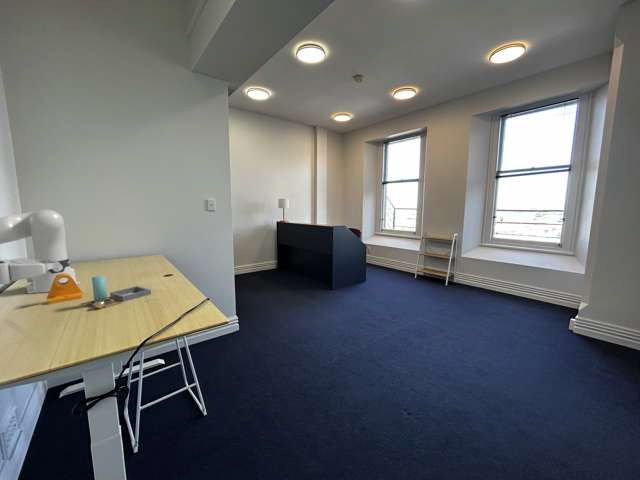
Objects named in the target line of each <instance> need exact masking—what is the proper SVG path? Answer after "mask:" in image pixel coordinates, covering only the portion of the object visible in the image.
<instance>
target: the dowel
mask: <svg viewBox="0 0 640 480" xmlns="http://www.w3.org/2000/svg"><path fill="white" fill-rule="evenodd" d="M91 282H92V291H93V293H92V295H93V300H94V302H97V301H104V302H107V298H108V293H107V285H106V284H107V283H106V276H105V275H99V276H98V275H97V276H93V277H91Z"/></svg>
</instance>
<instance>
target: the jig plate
mask: <svg viewBox="0 0 640 480" xmlns="http://www.w3.org/2000/svg"><path fill="white" fill-rule="evenodd" d="M120 304H121V305H122V301H119V300H118V301H117V300H116V299H114V298H111V297H107V302H105V308H104V309H106V308H111V307H113V306H118V305H120ZM80 306H83V307H86V308H89V309H90V310H92V311H99V310H101V309H98V310H96V309H95V305H94V299H93V300H89V301H85V302H82V303H80Z"/></svg>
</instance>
